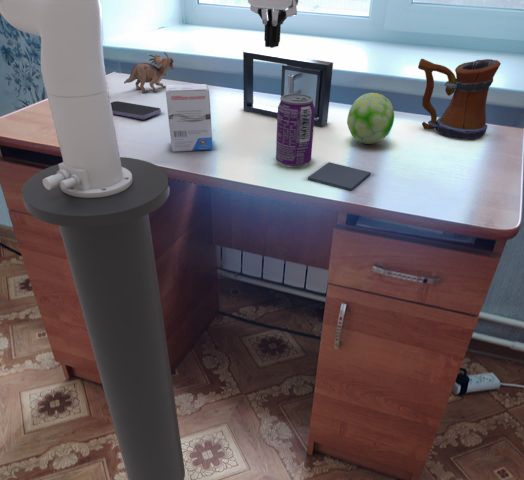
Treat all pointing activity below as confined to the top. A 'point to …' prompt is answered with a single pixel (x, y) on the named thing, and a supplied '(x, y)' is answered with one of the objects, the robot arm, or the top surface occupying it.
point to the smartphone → (133, 110)
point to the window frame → (290, 61)
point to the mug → (461, 98)
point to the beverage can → (295, 129)
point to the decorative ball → (370, 118)
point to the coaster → (339, 176)
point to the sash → (302, 83)
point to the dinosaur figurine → (151, 72)
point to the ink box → (189, 117)
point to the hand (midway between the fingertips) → (271, 46)
